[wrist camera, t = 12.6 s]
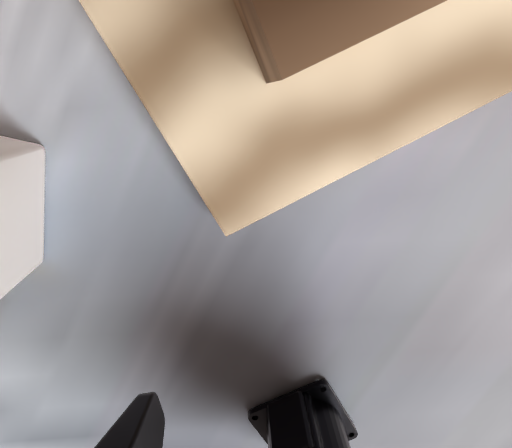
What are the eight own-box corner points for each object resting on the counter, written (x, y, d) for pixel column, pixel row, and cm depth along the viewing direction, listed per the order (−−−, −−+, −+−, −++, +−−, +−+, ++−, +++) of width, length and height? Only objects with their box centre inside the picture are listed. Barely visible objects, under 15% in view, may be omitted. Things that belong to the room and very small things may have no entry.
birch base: (497, 83, 17) (527, 82, 15) (227, 222, 19) (226, 236, 18) (398, -355, 12) (428, -439, 10) (35, -91, 14) (4, -119, 12)
